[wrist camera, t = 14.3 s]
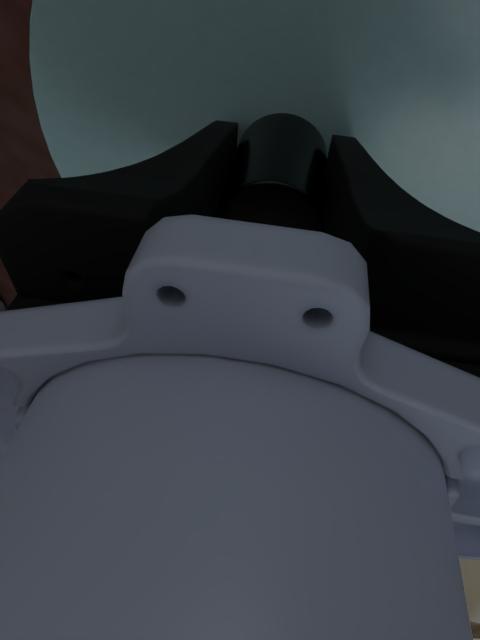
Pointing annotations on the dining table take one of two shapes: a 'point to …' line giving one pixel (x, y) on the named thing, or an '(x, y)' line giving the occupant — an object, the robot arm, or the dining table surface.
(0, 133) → the dining table surface
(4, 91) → the dining table surface
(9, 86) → the dining table surface
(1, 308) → the ceramic mug
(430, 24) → the pot lid
